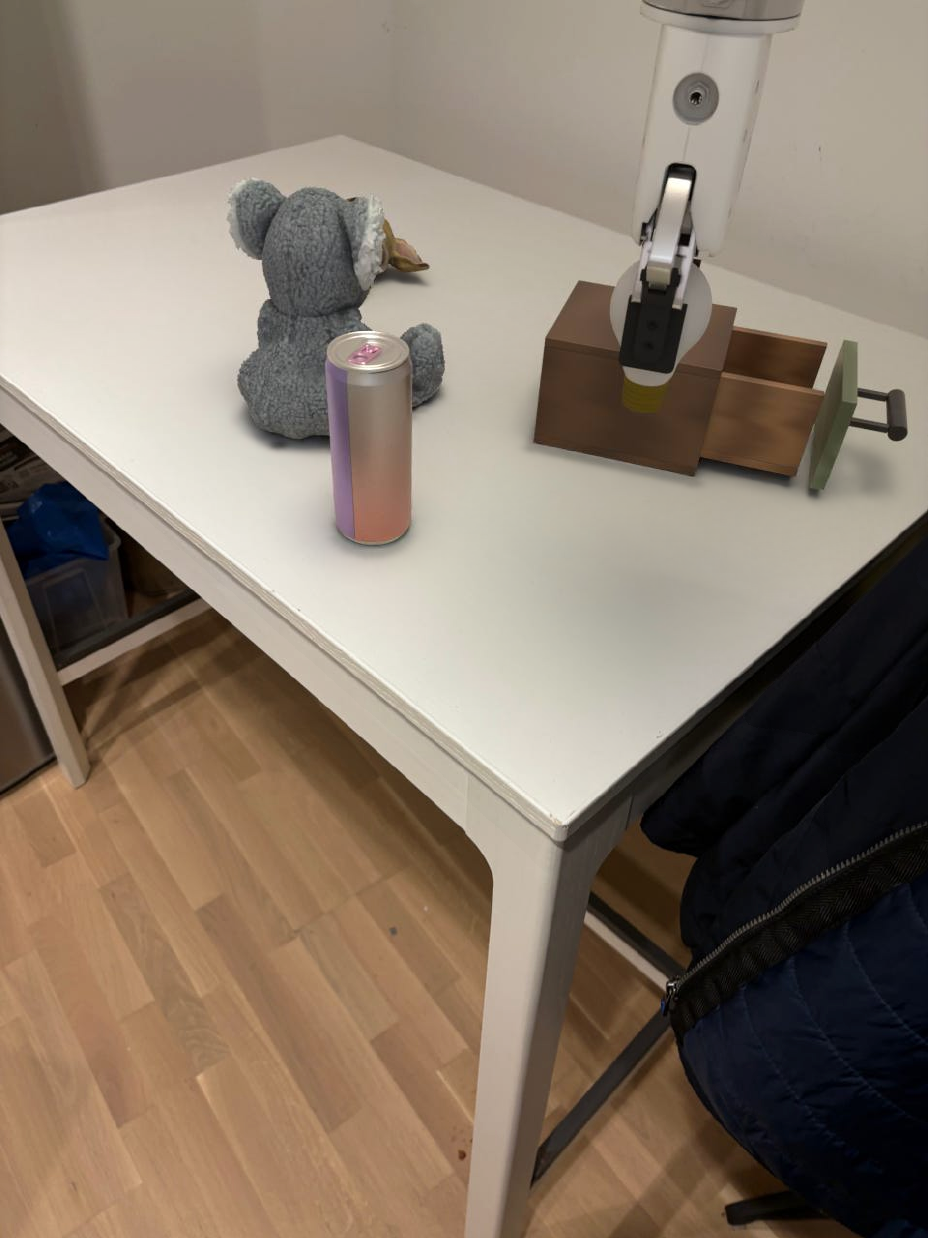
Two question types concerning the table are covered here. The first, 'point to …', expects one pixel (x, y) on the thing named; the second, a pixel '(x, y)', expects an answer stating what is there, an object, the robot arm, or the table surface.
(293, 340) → the koala plush
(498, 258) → the table surface
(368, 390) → the beverage can
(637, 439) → the cabinet
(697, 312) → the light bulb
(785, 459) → the drawer
